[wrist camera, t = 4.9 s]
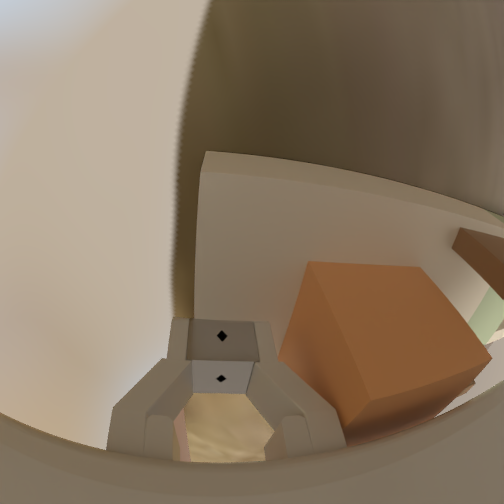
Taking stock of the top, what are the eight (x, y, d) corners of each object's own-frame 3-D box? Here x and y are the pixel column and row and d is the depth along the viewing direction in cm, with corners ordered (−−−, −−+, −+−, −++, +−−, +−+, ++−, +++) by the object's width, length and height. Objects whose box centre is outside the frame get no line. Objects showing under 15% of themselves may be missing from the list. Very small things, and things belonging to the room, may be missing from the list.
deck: (205, 150, 9) (185, 235, 4) (542, 234, 14) (581, 270, 9) (196, 340, 14) (195, 452, 9) (500, 314, 19) (530, 354, 14)
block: (308, 261, 9) (371, 400, 4) (419, 267, 9) (492, 358, 5) (277, 358, 11) (300, 465, 7) (373, 350, 12) (412, 434, 8)
